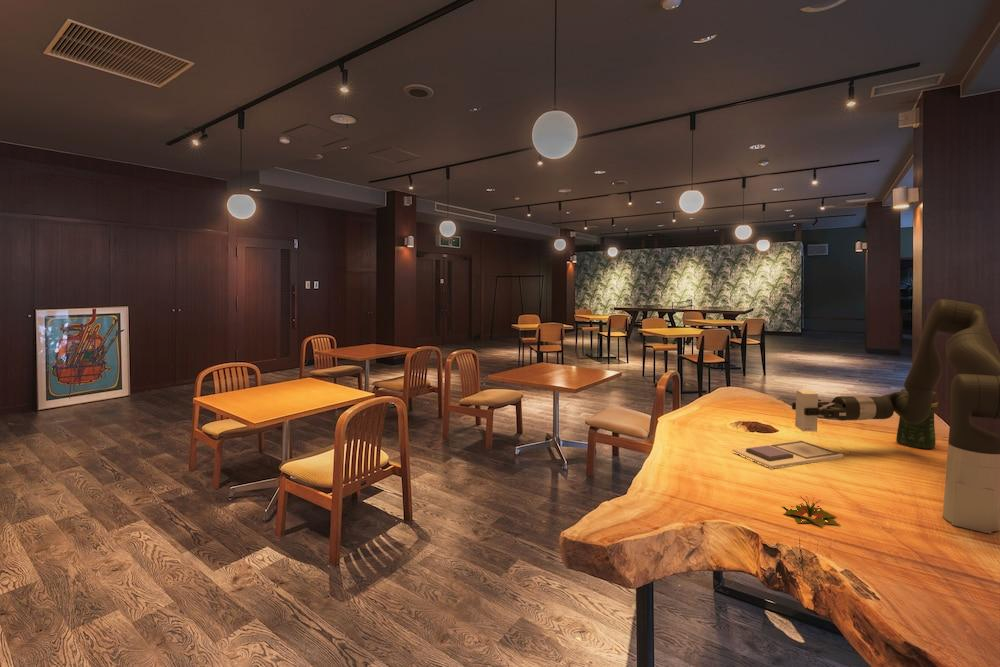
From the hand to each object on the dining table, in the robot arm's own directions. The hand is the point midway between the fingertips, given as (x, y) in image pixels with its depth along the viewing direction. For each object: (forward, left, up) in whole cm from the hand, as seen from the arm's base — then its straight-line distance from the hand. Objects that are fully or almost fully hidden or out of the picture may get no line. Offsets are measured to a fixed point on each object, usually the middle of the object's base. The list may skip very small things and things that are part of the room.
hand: (798, 408), depth 153 cm
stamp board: (-5, +2, -14) cm, 15 cm away
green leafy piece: (-46, -12, -15) cm, 50 cm away
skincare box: (+2, -2, -7) cm, 7 cm away
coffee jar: (+33, -27, -14) cm, 45 cm away
